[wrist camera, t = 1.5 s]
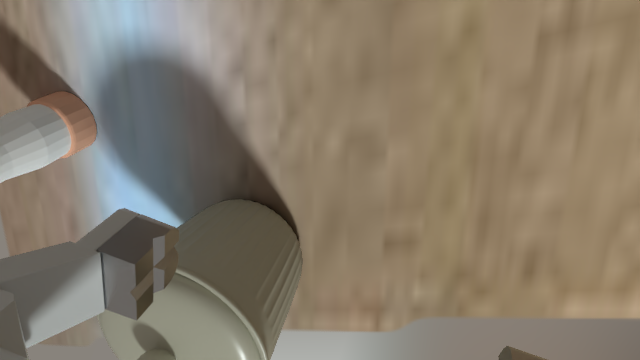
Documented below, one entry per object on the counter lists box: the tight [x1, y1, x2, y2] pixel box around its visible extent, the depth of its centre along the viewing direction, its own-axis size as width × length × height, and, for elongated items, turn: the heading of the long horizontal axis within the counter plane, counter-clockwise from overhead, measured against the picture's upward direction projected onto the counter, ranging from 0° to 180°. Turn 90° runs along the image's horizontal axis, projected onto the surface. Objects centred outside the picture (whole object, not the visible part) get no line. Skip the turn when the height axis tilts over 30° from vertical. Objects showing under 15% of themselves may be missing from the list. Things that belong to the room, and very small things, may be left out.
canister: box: [97, 199, 303, 360], centre depth 47 cm, size 18×18×21 cm
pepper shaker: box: [0, 91, 97, 183], centre depth 49 cm, size 7×7×19 cm
